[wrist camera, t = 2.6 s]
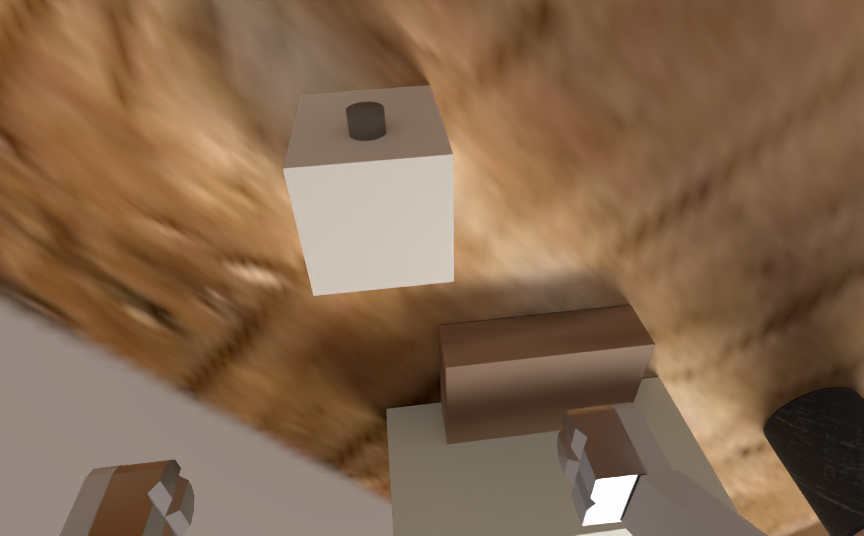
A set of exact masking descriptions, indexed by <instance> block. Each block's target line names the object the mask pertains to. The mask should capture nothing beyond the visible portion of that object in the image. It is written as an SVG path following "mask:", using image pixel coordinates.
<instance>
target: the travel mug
mask: <svg viewBox="0 0 864 536" xmlns="http://www.w3.org/2000/svg"><path fill="white" fill-rule="evenodd" d="M764 433H765V436H766V438H767V440H768V442H769V443H770V445H771V446H772V448H773V450H774V451H775V453H776V454H777V456H778V457H779V459H780V460H781V462H782V463H783V465H784V466H785V468H786V469H787V471H788V472H789V474H790V475H791V477H792V478H793V480H794V482H795V483H796V485H797V486H798V488H799V489H800V491H801V492H802V494H803V495H804V497H805V498H806V500H807V501H808V503H809V504H810V506H811V507H812V509H813V510H814V512H815V513H816V515H817V516H818V518H819V519H820V521H821V522H822V524H823V525H824V527H825V528H826V530H827V531H828V533H829V534H830V536H864V399H863V398H862V397H861V396H860V395H859V394H858V393H856V392H855V391H853V390H851V389H848V388H829V389H824V390H820V391H816V392H813V393H810V394H807V395H805V396H802V397H800V398H798V399H796V400H794V401H792V402H790V403H789V404H787V405H786V406H784V407H783V408H781V409H780V410H779V411H777V412H776V413H775V414H774V415H773V416H772V417H771V418H770V419H769V421H768V422H767V424H766V426H765V429H764Z"/></svg>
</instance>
